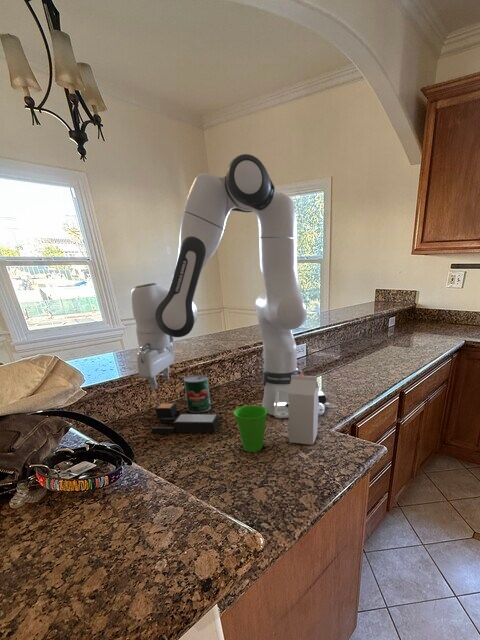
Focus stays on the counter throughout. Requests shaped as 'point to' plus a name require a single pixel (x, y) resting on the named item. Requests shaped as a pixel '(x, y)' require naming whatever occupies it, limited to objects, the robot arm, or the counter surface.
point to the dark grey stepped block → (190, 423)
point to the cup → (251, 426)
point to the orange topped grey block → (166, 410)
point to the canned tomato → (197, 393)
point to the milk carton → (303, 409)
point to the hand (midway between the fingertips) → (160, 384)
